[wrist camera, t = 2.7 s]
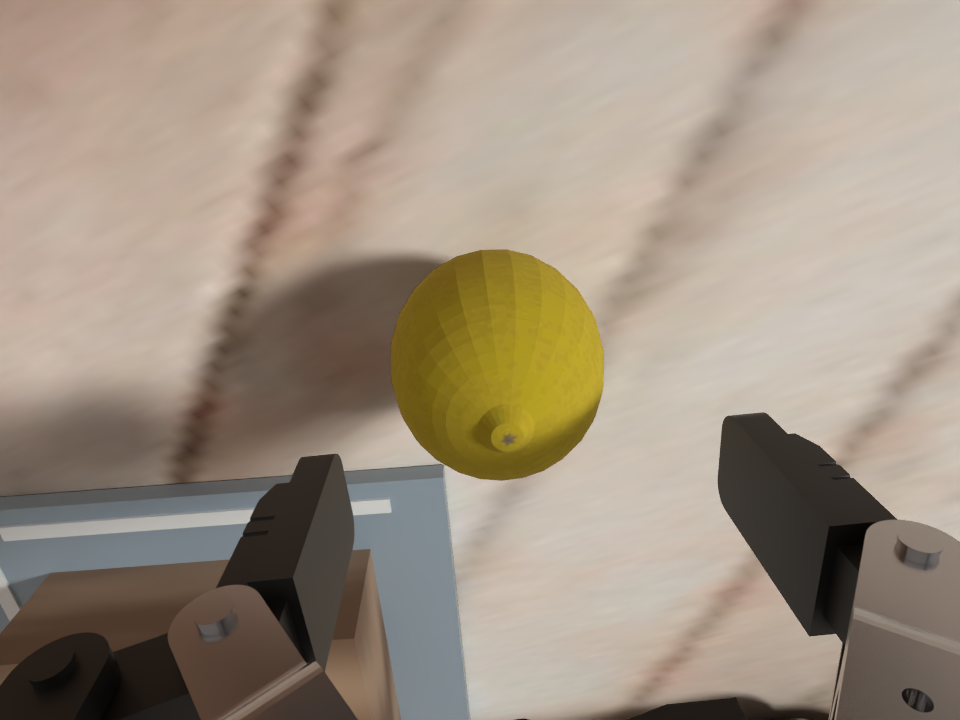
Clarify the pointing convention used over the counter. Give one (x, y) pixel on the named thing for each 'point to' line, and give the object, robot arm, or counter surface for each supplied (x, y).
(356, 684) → the block tower
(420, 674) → the board
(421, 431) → the lemon
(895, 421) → the counter surface
